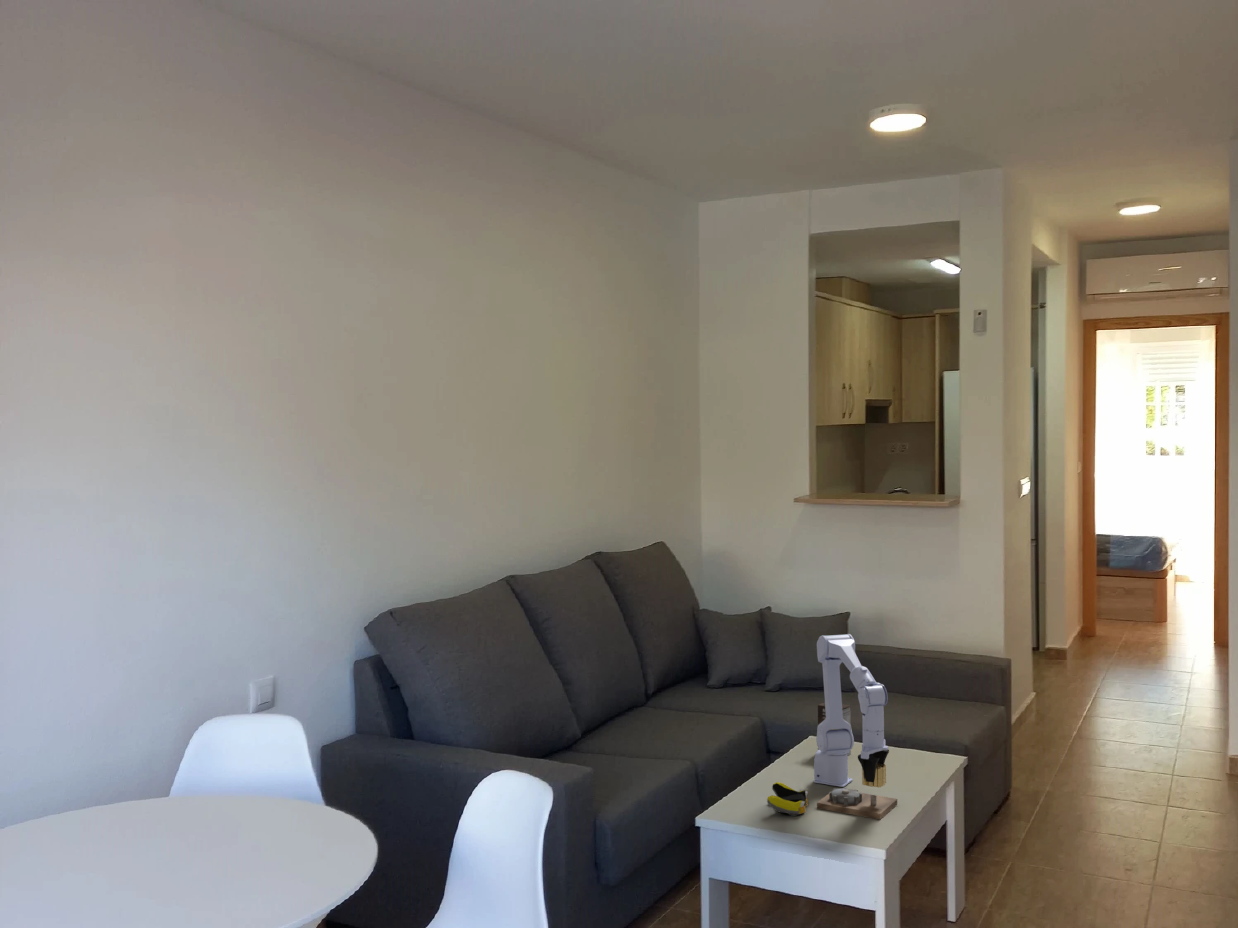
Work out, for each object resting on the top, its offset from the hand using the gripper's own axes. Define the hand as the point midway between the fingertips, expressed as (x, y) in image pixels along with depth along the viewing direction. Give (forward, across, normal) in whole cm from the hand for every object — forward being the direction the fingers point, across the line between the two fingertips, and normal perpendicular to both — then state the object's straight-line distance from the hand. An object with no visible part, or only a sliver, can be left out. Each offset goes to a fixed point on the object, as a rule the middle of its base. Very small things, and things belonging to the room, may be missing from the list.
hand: (873, 778), depth 296 cm
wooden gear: (+1, 0, 0) cm, 1 cm away
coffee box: (+8, +44, +29) cm, 54 cm away
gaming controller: (+9, -11, +20) cm, 25 cm away
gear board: (+8, 0, +5) cm, 10 cm away
